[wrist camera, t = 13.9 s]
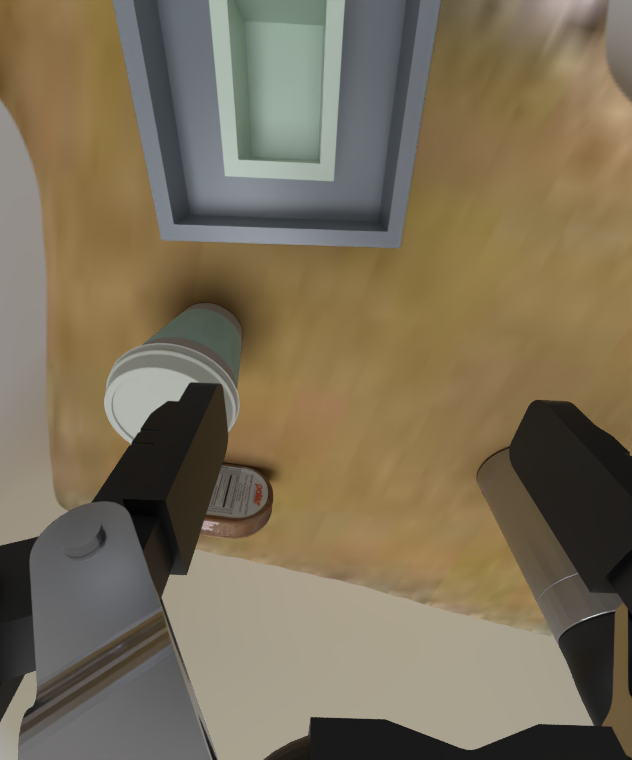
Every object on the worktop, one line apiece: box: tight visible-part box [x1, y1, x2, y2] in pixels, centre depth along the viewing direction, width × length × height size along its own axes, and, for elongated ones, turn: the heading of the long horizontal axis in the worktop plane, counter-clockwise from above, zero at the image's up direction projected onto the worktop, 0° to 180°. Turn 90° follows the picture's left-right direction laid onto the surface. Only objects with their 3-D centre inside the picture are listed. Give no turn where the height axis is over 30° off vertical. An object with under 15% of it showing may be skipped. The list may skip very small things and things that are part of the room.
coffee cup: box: [104, 303, 242, 444], centre depth 27 cm, size 8×8×12 cm
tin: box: [200, 463, 273, 539], centre depth 38 cm, size 15×3×8 cm, turn 78°
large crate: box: [113, 0, 441, 248], centre depth 21 cm, size 16×16×4 cm
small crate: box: [209, 0, 345, 181], centre depth 19 cm, size 6×8×6 cm
